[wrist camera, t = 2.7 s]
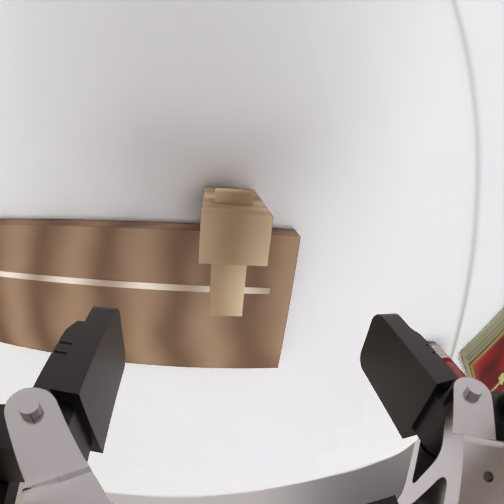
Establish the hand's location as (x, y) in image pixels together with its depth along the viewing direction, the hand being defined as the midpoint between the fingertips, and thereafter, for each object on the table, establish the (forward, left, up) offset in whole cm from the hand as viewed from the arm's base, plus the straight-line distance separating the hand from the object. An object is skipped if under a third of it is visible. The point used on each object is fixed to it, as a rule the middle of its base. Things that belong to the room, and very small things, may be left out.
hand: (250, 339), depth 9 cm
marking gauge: (0, +2, -18) cm, 18 cm away
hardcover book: (-47, +22, -19) cm, 55 cm away
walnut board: (+10, +9, -18) cm, 22 cm away
